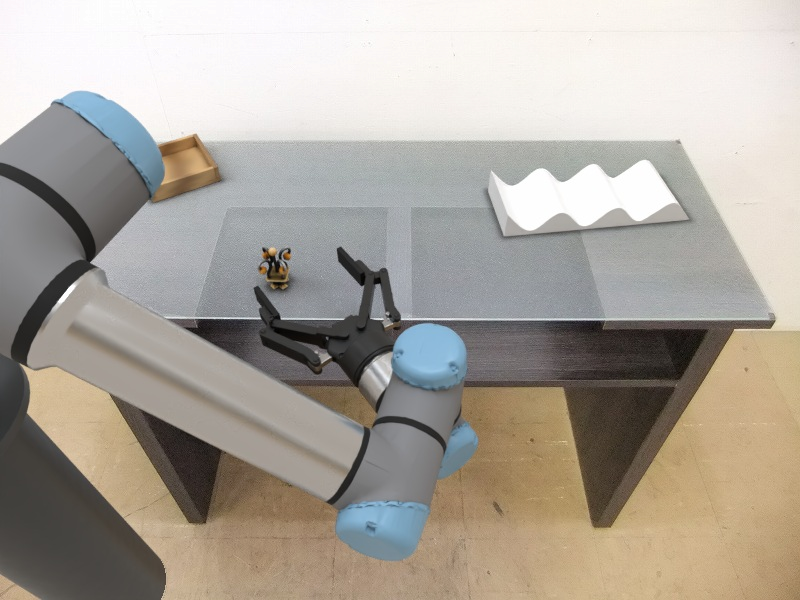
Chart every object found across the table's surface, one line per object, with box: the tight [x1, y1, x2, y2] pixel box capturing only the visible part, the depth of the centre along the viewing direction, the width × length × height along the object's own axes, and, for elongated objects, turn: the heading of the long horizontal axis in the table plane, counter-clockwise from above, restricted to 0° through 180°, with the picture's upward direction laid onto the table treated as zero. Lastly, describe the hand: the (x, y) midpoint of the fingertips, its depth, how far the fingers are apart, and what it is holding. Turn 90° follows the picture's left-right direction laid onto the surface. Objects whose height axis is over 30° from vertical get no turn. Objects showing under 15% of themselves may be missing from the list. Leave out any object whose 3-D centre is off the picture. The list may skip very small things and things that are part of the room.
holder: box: [151, 133, 222, 203], centre depth 120 cm, size 14×14×3 cm
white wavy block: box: [487, 159, 690, 237], centre depth 111 cm, size 13×35×5 cm, turn 97°
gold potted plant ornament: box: [256, 245, 292, 290], centre depth 97 cm, size 5×5×8 cm
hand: (299, 272), depth 87 cm, fingers open, 13 cm apart
